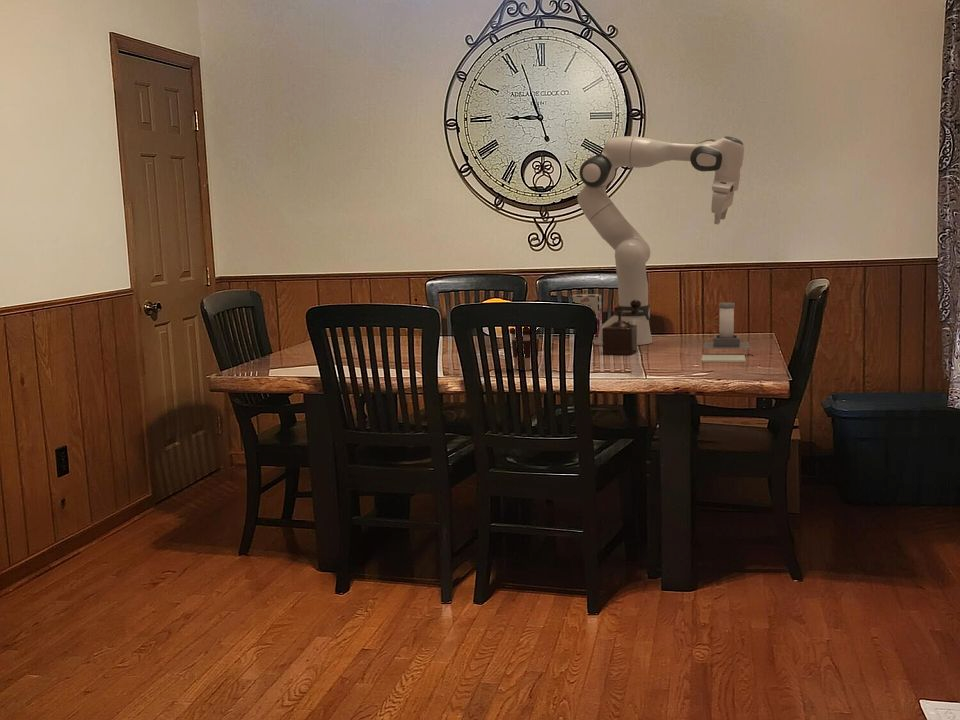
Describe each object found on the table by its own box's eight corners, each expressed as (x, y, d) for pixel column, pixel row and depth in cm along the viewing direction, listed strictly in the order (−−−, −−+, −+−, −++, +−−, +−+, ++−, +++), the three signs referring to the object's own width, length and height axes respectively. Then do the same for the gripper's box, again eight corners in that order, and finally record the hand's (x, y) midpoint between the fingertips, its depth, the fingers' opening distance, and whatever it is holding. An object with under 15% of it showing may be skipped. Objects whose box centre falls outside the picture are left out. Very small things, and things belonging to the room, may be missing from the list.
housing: (703, 351, 369) (703, 339, 368) (704, 344, 384) (704, 333, 384) (750, 351, 365) (750, 339, 365) (749, 344, 381) (749, 333, 380)
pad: (701, 362, 346) (701, 360, 346) (702, 355, 359) (702, 353, 359) (745, 362, 343) (745, 360, 343) (744, 355, 356) (744, 353, 356)
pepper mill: (632, 355, 364) (632, 304, 361) (602, 354, 368) (601, 303, 365) (642, 349, 378) (642, 299, 376) (613, 348, 383) (612, 299, 380)
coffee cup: (509, 367, 348) (508, 322, 345) (539, 365, 348) (538, 321, 346) (512, 372, 338) (511, 325, 336) (542, 370, 339) (541, 324, 336)
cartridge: (718, 346, 373) (718, 304, 370) (718, 343, 378) (719, 302, 376) (734, 346, 371) (734, 304, 369) (734, 343, 377) (734, 302, 374)
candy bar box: (602, 334, 418) (602, 294, 416) (599, 336, 414) (599, 295, 411) (575, 334, 422) (574, 293, 419) (572, 336, 417) (571, 295, 415)
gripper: (723, 177, 383) (717, 214, 388) (711, 186, 366) (704, 225, 371) (740, 180, 381) (734, 217, 386) (729, 189, 364) (722, 228, 369)
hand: (719, 221), depth 378 cm, fingers open, 8 cm apart
